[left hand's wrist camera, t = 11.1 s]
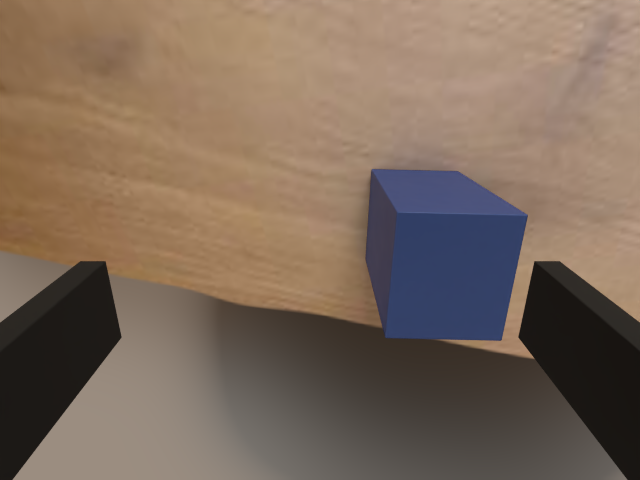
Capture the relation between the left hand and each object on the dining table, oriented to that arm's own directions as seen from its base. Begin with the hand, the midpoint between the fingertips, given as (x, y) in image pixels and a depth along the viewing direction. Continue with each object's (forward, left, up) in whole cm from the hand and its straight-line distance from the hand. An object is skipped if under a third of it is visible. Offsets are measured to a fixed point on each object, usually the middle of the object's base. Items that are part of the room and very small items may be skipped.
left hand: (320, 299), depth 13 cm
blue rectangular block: (+6, 0, -15) cm, 16 cm away
